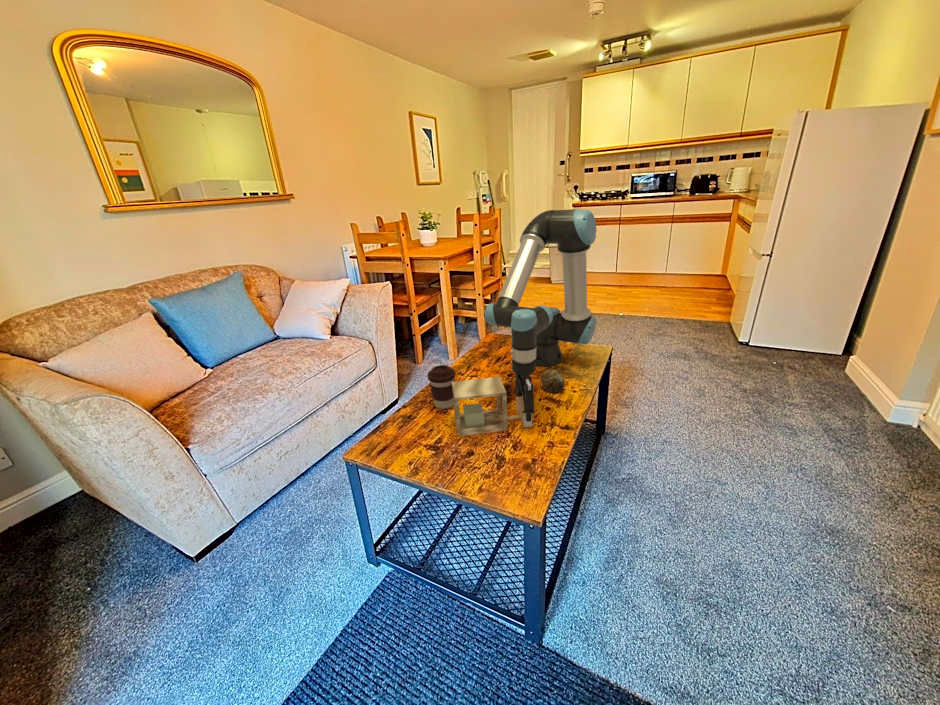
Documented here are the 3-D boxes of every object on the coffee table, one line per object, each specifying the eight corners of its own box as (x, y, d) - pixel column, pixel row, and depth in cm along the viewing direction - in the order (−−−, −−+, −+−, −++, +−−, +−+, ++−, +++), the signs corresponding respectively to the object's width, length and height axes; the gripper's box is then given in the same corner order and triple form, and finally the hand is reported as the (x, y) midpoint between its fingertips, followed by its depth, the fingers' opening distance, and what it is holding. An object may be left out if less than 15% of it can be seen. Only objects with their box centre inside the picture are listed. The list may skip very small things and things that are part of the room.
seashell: (559, 398, 145) (560, 378, 141) (535, 392, 149) (535, 374, 146) (569, 385, 153) (570, 366, 150) (547, 380, 158) (547, 362, 155)
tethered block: (526, 415, 135) (526, 395, 132) (531, 425, 130) (531, 404, 126) (464, 423, 133) (463, 402, 130) (466, 433, 128) (465, 412, 125)
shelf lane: (500, 414, 137) (499, 376, 131) (507, 432, 127) (506, 392, 121) (455, 420, 135) (451, 381, 129) (458, 438, 125) (454, 398, 119)
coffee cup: (437, 415, 138) (433, 377, 133) (427, 403, 147) (422, 367, 141) (462, 407, 142) (459, 370, 137) (451, 396, 151) (447, 360, 145)
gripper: (505, 347, 133) (506, 405, 141) (520, 375, 113) (520, 440, 122) (527, 345, 133) (527, 403, 142) (545, 372, 114) (544, 437, 123)
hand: (524, 420), depth 132 cm, fingers open, 9 cm apart
